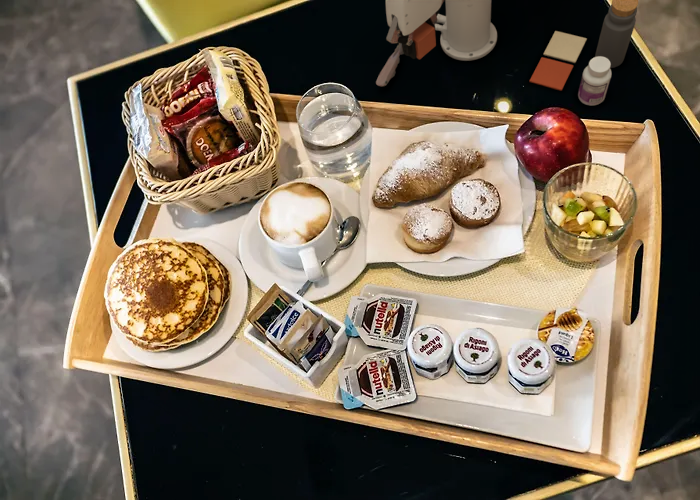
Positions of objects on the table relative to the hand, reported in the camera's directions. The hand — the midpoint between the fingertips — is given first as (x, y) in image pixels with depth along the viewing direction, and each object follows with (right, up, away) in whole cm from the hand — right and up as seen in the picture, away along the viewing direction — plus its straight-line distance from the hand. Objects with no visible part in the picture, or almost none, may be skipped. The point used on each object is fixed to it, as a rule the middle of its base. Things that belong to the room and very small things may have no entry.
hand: (419, 45), depth 117 cm
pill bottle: (+37, -8, +9) cm, 38 cm away
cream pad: (+34, +5, +15) cm, 37 cm away
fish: (-3, +1, +21) cm, 21 cm away
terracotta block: (0, 0, 0) cm, 0 cm away
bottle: (+42, +1, +12) cm, 44 cm away
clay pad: (+30, -2, +13) cm, 32 cm away
